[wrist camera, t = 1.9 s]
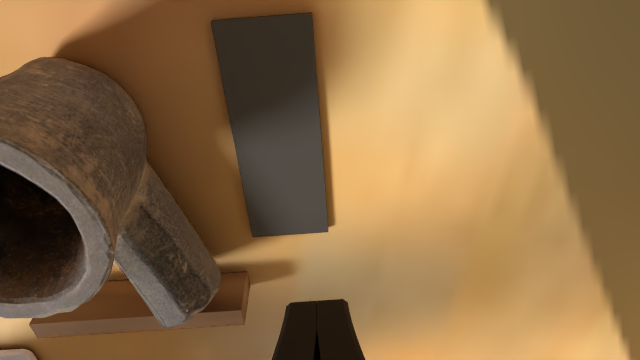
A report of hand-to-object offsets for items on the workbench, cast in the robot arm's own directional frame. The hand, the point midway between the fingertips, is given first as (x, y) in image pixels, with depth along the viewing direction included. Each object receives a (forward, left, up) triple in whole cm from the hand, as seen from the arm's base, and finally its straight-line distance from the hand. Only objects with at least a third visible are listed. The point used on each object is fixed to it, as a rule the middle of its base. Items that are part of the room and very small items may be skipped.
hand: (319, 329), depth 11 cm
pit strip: (0, +2, -10) cm, 10 cm away
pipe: (0, +8, -10) cm, 13 cm away
